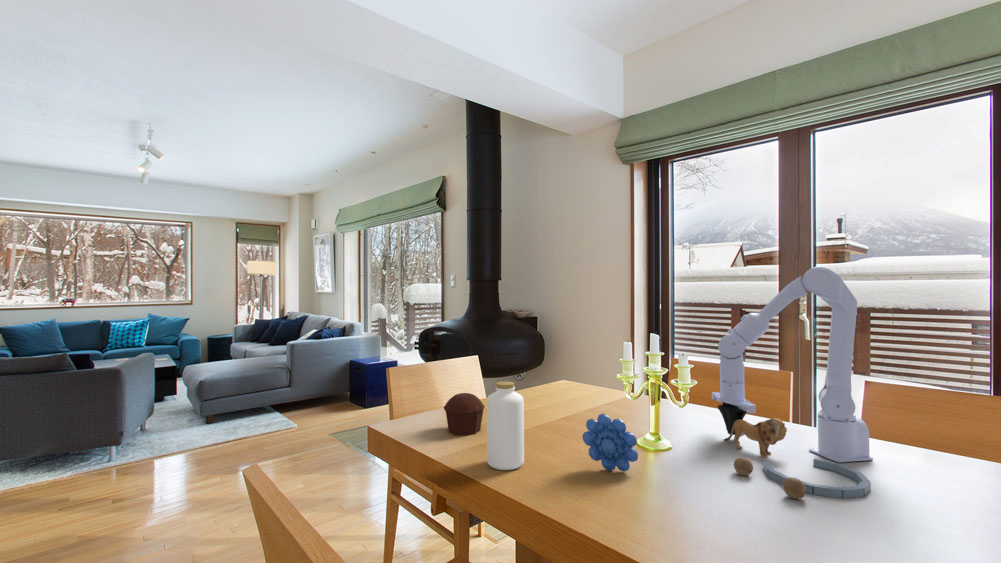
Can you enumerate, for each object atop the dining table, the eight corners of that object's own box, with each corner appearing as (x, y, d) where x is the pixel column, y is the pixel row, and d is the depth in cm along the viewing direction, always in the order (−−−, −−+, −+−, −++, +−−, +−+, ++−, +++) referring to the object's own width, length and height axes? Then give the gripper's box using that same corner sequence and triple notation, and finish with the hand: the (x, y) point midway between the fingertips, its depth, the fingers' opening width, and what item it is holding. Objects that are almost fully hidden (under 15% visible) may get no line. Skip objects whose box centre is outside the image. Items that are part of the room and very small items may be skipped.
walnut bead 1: (745, 470, 96) (744, 453, 96) (757, 477, 92) (757, 460, 92) (729, 472, 95) (729, 454, 95) (741, 479, 92) (741, 461, 92)
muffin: (450, 423, 131) (449, 389, 131) (487, 425, 129) (487, 390, 130) (438, 436, 119) (438, 398, 119) (479, 438, 118) (479, 400, 118)
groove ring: (824, 464, 100) (824, 457, 100) (893, 493, 85) (893, 485, 85) (754, 469, 97) (753, 462, 97) (813, 501, 82) (812, 492, 82)
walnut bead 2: (795, 492, 85) (794, 473, 85) (811, 501, 82) (810, 481, 82) (778, 494, 85) (777, 475, 85) (793, 503, 81) (793, 483, 81)
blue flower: (579, 474, 94) (578, 417, 94) (584, 463, 100) (584, 409, 101) (637, 482, 90) (636, 422, 90) (638, 470, 97) (638, 413, 97)
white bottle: (531, 464, 100) (531, 382, 100) (506, 475, 94) (506, 388, 94) (504, 454, 106) (504, 378, 106) (478, 464, 100) (478, 383, 100)
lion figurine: (791, 458, 103) (790, 418, 104) (780, 463, 100) (779, 422, 101) (728, 440, 116) (728, 405, 116) (717, 444, 113) (716, 408, 113)
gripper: (701, 376, 123) (701, 426, 123) (737, 387, 109) (738, 444, 109) (724, 375, 124) (725, 425, 124) (763, 386, 110) (764, 442, 110)
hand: (732, 434), depth 116 cm, fingers closed
